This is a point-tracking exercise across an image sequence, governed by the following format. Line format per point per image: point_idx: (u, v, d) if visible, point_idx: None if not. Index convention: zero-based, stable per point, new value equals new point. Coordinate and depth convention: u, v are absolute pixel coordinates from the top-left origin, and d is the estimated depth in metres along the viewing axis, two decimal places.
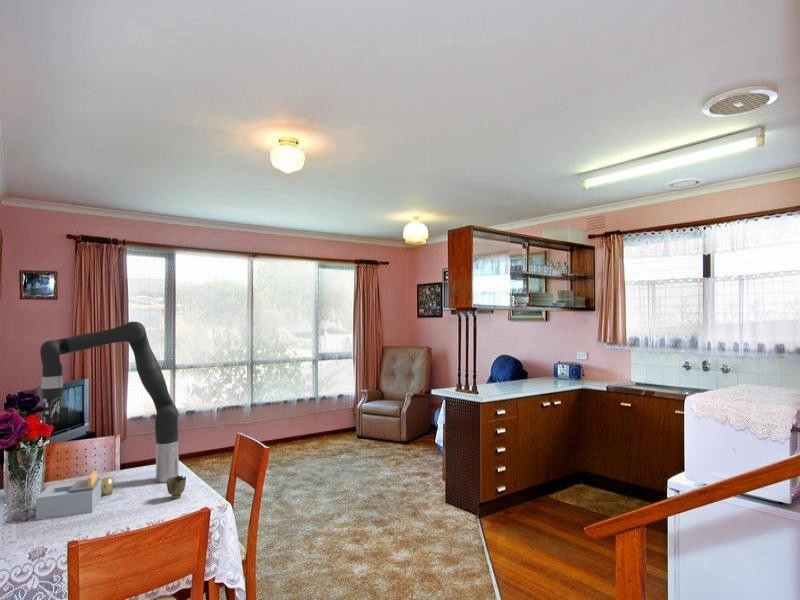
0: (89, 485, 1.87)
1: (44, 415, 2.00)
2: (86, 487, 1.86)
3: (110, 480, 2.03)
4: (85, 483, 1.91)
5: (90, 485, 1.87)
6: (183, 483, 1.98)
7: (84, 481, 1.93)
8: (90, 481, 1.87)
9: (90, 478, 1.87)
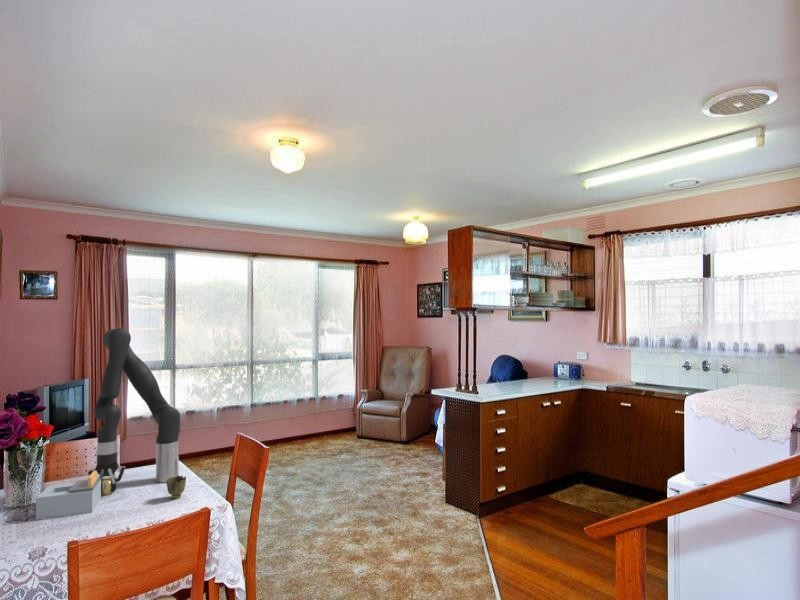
0: (89, 485, 1.87)
1: (120, 479, 2.05)
2: (86, 487, 1.86)
3: (110, 480, 2.03)
4: (85, 483, 1.91)
5: (90, 485, 1.87)
6: (183, 483, 1.98)
7: (84, 481, 1.93)
8: (90, 481, 1.87)
9: (90, 478, 1.87)
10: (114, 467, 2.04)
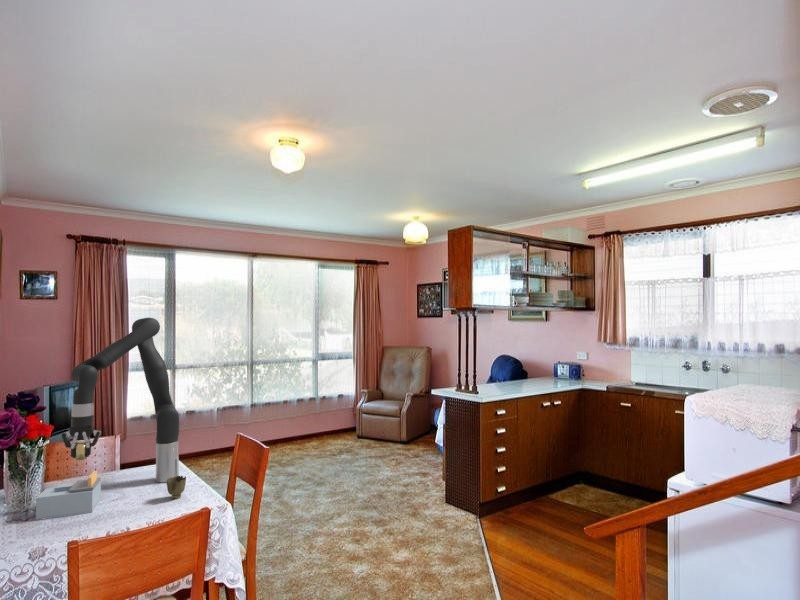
0: (89, 485, 1.87)
1: (95, 444, 1.96)
2: (86, 487, 1.86)
3: (84, 444, 1.95)
4: (85, 483, 1.91)
5: (90, 485, 1.87)
6: (183, 483, 1.98)
7: (84, 481, 1.93)
8: (90, 481, 1.87)
9: (90, 478, 1.87)
10: (89, 431, 1.96)
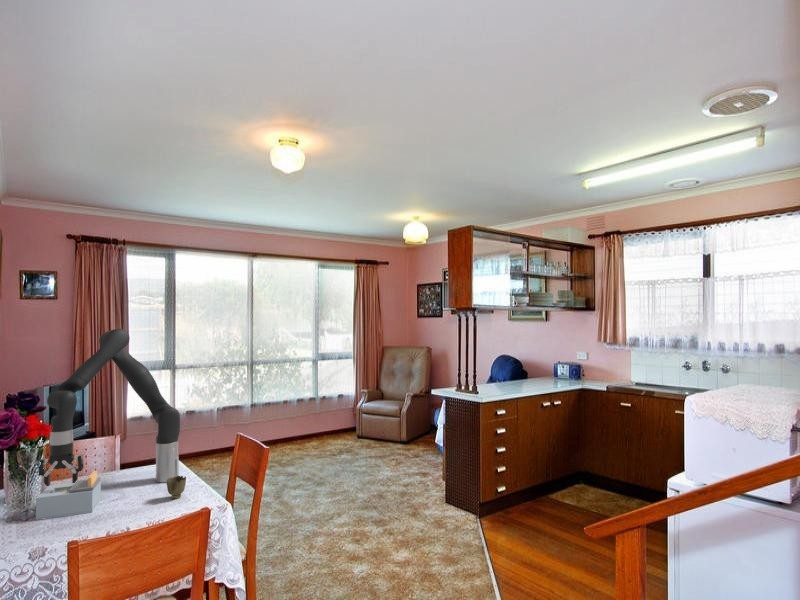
0: (89, 485, 1.87)
1: (81, 468, 1.89)
2: (86, 487, 1.86)
3: None
4: (85, 483, 1.91)
5: (90, 485, 1.87)
6: (183, 483, 1.98)
7: (84, 481, 1.93)
8: (90, 481, 1.87)
9: (90, 478, 1.87)
10: (69, 459, 1.88)
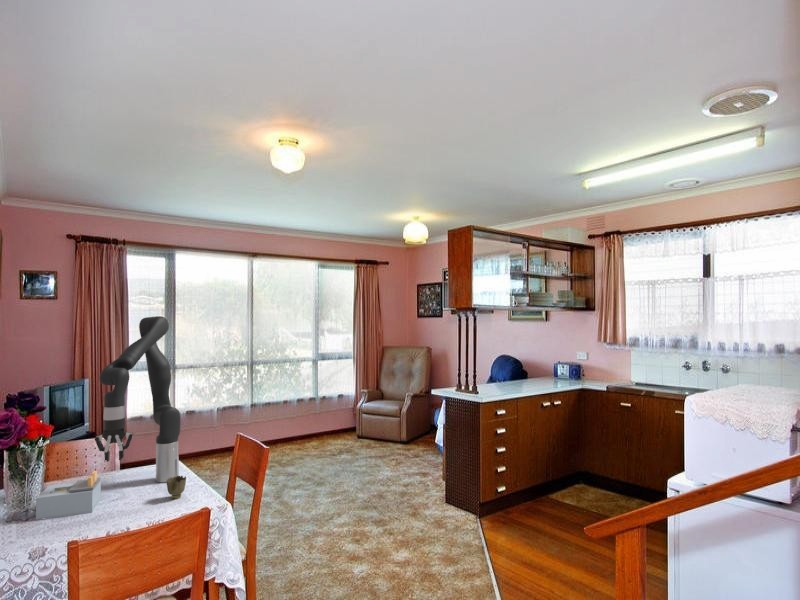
0: (89, 485, 1.87)
1: (127, 446, 1.95)
2: (86, 487, 1.86)
3: None
4: (85, 483, 1.91)
5: (90, 485, 1.87)
6: (183, 483, 1.98)
7: (84, 481, 1.93)
8: (90, 481, 1.87)
9: (90, 478, 1.87)
10: (122, 433, 1.94)
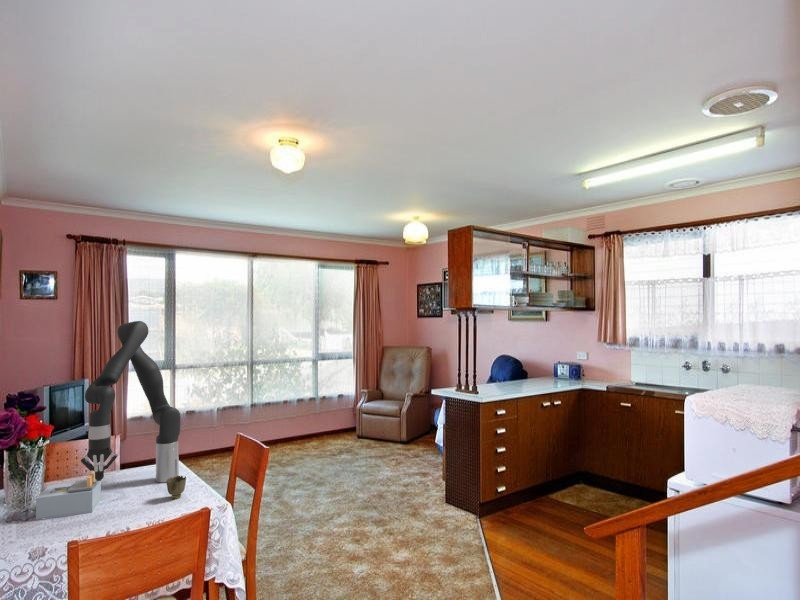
0: (88, 485, 1.87)
1: (107, 467, 1.92)
2: (85, 487, 1.86)
3: None
4: (84, 483, 1.90)
5: (89, 485, 1.87)
6: (183, 483, 1.98)
7: (83, 481, 1.93)
8: (89, 481, 1.87)
9: (89, 478, 1.87)
10: (107, 453, 1.92)
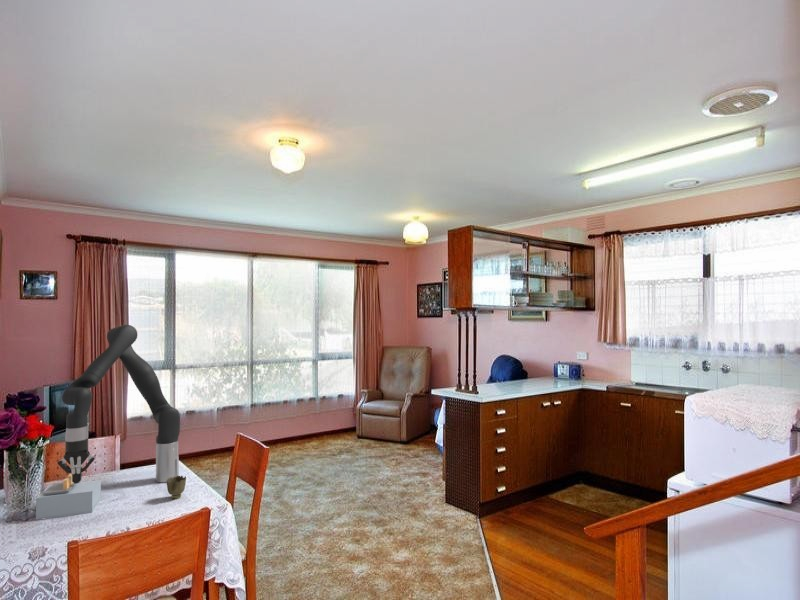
0: (65, 488, 1.84)
1: (85, 469, 1.89)
2: (61, 490, 1.83)
3: None
4: (61, 486, 1.88)
5: (66, 488, 1.84)
6: (183, 483, 1.98)
7: (60, 484, 1.90)
8: (66, 484, 1.84)
9: (66, 481, 1.84)
10: (84, 455, 1.89)
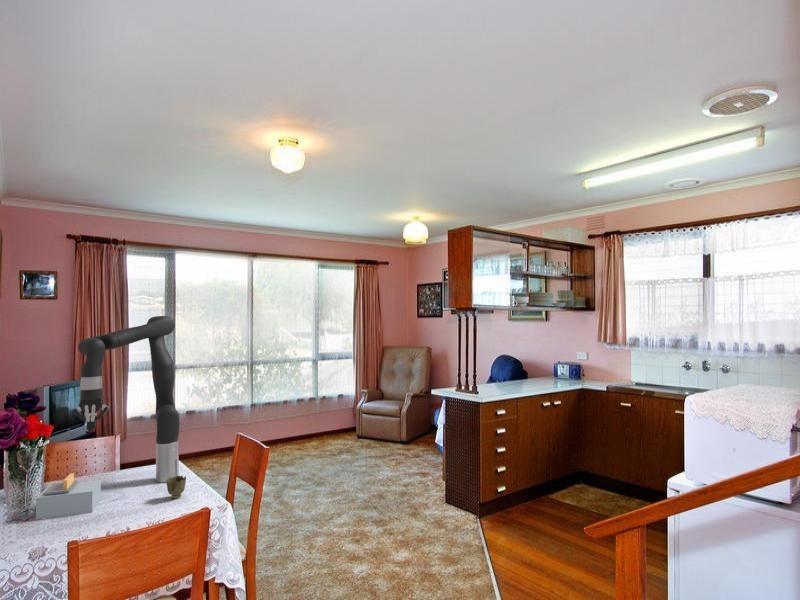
0: (65, 488, 1.84)
1: (99, 418, 1.95)
2: (61, 490, 1.83)
3: None
4: (61, 486, 1.88)
5: (66, 488, 1.84)
6: (183, 483, 1.98)
7: (60, 484, 1.90)
8: (66, 484, 1.84)
9: (66, 481, 1.84)
10: (98, 403, 1.95)
